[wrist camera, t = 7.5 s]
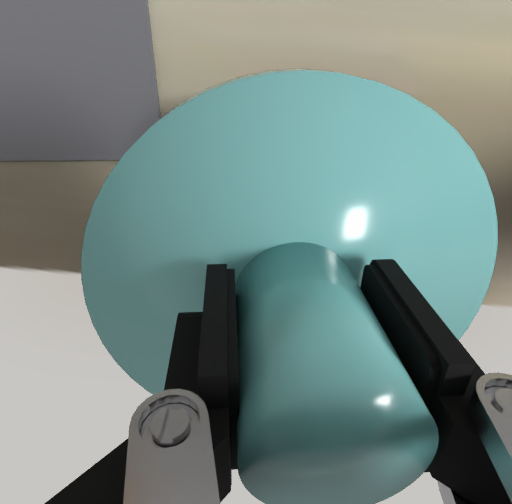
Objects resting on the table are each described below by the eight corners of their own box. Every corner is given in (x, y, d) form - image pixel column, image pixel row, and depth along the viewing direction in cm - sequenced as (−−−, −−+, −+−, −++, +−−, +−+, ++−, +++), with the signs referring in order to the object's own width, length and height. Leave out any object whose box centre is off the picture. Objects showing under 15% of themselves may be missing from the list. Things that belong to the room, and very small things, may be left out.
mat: (136, -105, 17) (134, -108, 17) (164, 157, 23) (163, 159, 22) (-142, -113, 16) (-151, -117, 16) (-40, 159, 22) (-45, 161, 22)
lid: (531, 70, 10) (927, 99, 4) (424, 393, 15) (533, 582, 10) (49, 66, 9) (-237, 96, 3) (128, 409, 15) (69, 623, 9)
